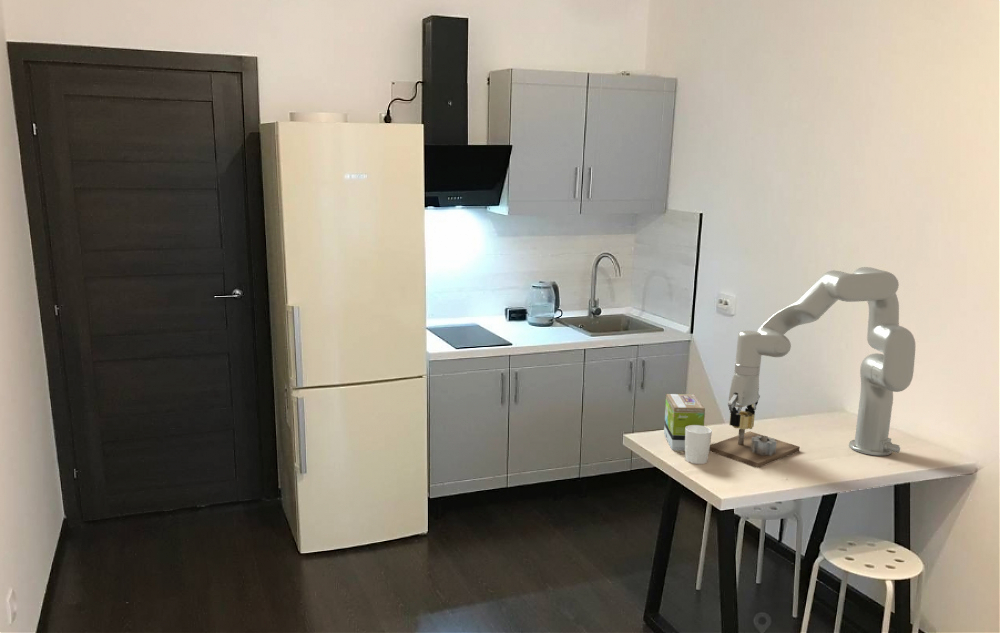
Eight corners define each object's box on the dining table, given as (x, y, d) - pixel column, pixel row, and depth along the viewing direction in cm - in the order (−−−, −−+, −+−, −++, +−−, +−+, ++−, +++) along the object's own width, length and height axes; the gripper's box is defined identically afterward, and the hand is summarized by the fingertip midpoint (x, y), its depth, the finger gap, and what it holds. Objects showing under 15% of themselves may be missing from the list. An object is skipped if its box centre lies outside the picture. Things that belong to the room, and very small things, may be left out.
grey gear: (777, 450, 238) (778, 438, 237) (773, 457, 231) (774, 445, 230) (752, 445, 241) (754, 433, 240) (748, 452, 235) (749, 440, 234)
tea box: (662, 434, 254) (665, 392, 251) (692, 435, 254) (695, 393, 251) (671, 450, 239) (674, 406, 236) (703, 452, 239) (706, 407, 236)
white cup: (695, 466, 227) (697, 434, 225) (677, 457, 233) (679, 426, 232) (714, 462, 230) (717, 431, 228) (697, 454, 237) (699, 423, 235)
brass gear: (758, 426, 241) (759, 414, 240) (744, 431, 236) (746, 418, 235) (737, 420, 246) (738, 408, 245) (724, 424, 242) (725, 412, 241)
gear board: (799, 451, 242) (801, 431, 241) (757, 467, 227) (759, 447, 226) (749, 435, 255) (751, 417, 254) (707, 450, 240) (708, 430, 239)
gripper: (752, 364, 246) (746, 415, 249) (720, 371, 235) (715, 425, 238) (772, 369, 240) (767, 422, 244) (742, 376, 229) (736, 432, 233)
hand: (741, 423), depth 241 cm, fingers closed on brass gear, 7 cm apart
